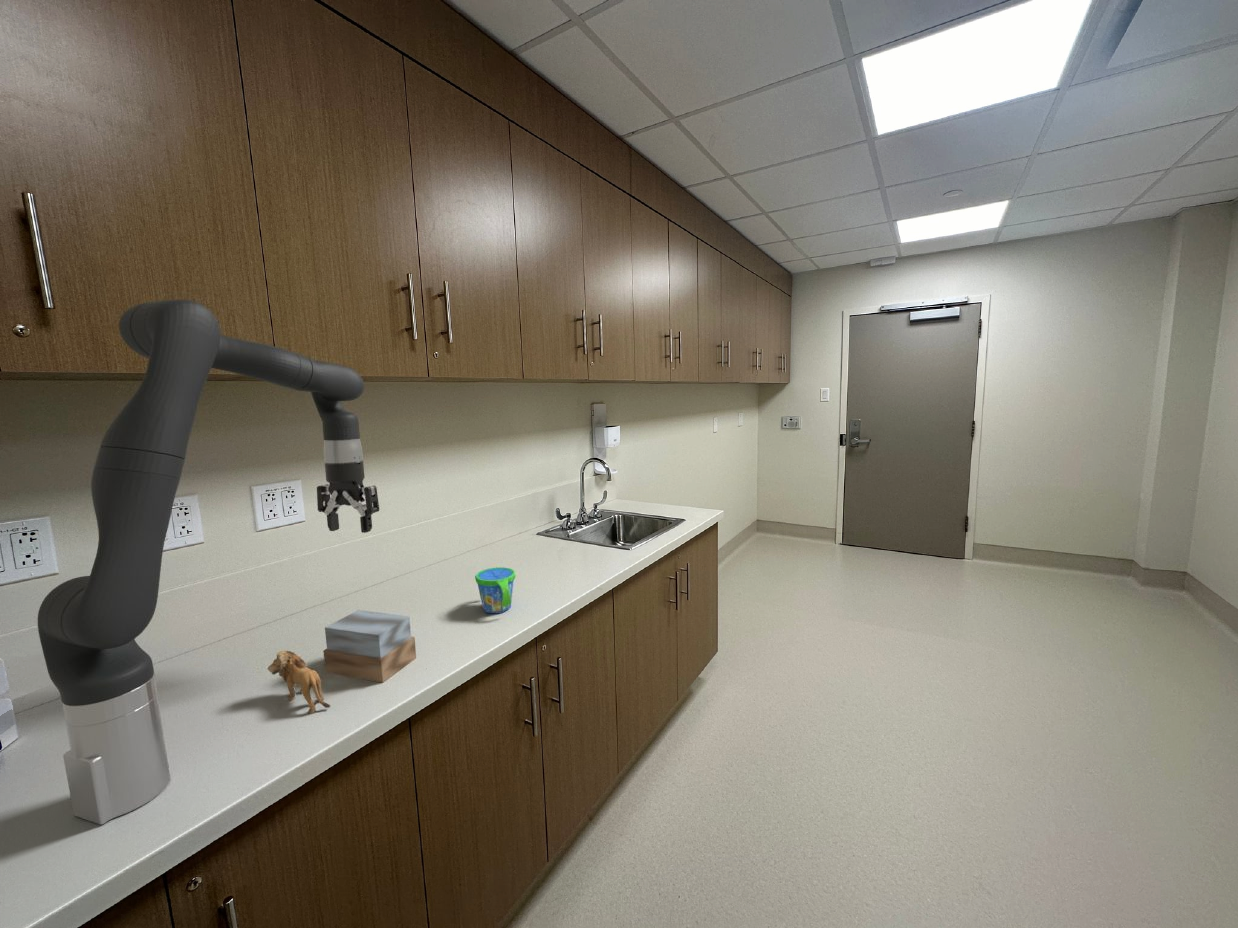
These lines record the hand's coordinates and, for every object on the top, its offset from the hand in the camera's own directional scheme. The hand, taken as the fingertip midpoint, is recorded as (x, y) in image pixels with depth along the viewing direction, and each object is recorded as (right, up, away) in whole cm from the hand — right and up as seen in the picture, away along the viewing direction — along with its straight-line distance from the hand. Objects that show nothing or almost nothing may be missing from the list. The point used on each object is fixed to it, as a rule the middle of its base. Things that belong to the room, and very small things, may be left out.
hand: (350, 531), depth 110 cm
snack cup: (+27, -25, +25) cm, 44 cm away
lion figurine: (-1, -31, -16) cm, 35 cm away
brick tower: (+7, -29, -3) cm, 30 cm away
